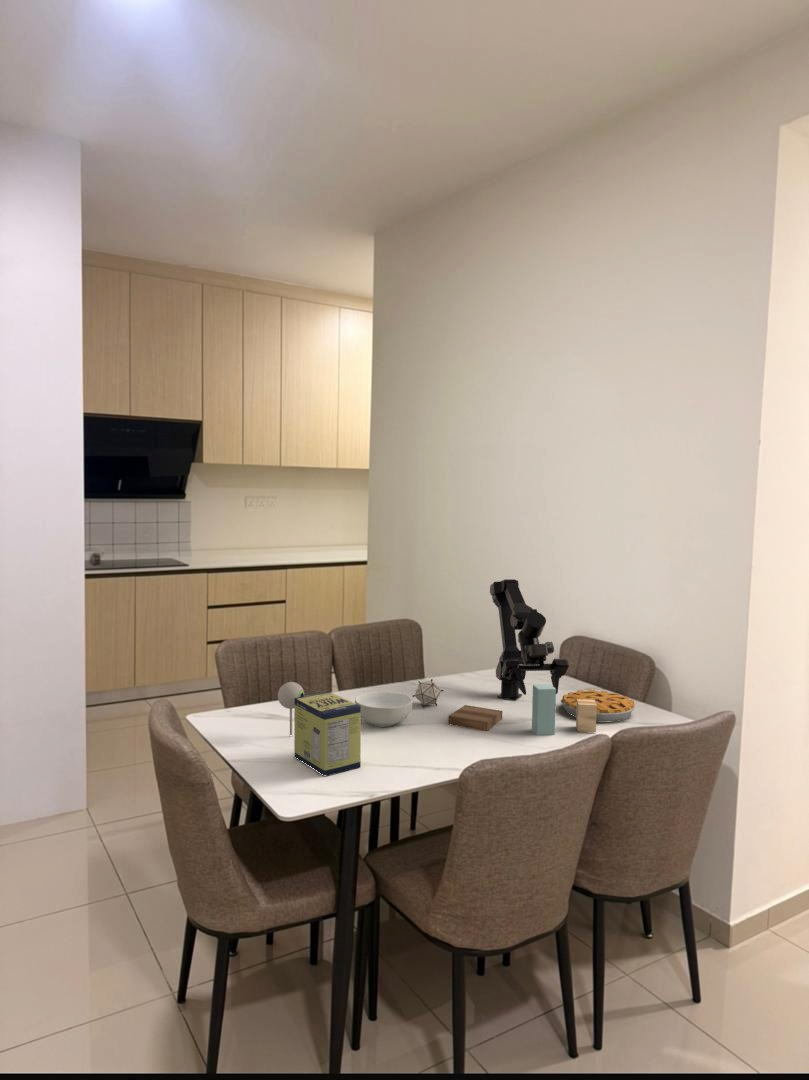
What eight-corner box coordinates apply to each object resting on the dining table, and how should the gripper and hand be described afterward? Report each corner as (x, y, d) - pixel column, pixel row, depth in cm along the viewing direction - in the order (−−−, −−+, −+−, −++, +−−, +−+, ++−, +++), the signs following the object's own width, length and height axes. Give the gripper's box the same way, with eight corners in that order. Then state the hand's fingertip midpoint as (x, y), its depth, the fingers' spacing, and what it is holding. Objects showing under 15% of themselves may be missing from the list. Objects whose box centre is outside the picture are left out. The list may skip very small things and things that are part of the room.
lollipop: (296, 742, 201) (296, 687, 200) (272, 738, 204) (272, 684, 203) (308, 734, 208) (308, 680, 207) (285, 730, 211) (285, 677, 209)
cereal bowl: (405, 734, 209) (406, 709, 208) (347, 729, 212) (347, 705, 212) (417, 715, 226) (417, 692, 225) (363, 711, 229) (363, 688, 228)
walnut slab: (464, 714, 229) (465, 704, 228) (502, 720, 223) (502, 710, 223) (448, 725, 218) (448, 715, 218) (487, 732, 213) (487, 722, 212)
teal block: (531, 729, 214) (533, 684, 213) (548, 728, 215) (550, 684, 214) (537, 735, 209) (538, 689, 208) (554, 734, 210) (555, 688, 209)
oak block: (576, 726, 217) (576, 699, 217) (593, 727, 217) (594, 700, 216) (577, 732, 212) (578, 704, 212) (595, 733, 212) (596, 705, 211)
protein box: (328, 749, 197) (329, 690, 196) (361, 767, 184) (362, 705, 183) (293, 757, 191) (293, 697, 189) (324, 777, 178) (324, 712, 177)
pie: (602, 729, 216) (603, 712, 215) (546, 710, 233) (546, 694, 233) (649, 716, 229) (650, 699, 228) (592, 698, 246) (593, 683, 246)
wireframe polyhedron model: (421, 718, 235) (402, 693, 234) (433, 702, 242) (414, 677, 241) (442, 709, 230) (422, 683, 229) (452, 693, 236) (433, 668, 236)
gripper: (505, 632, 217) (515, 679, 207) (567, 631, 219) (580, 678, 209) (497, 653, 225) (506, 700, 215) (557, 652, 228) (569, 698, 218)
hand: (541, 693), depth 214 cm, fingers open, 9 cm apart
